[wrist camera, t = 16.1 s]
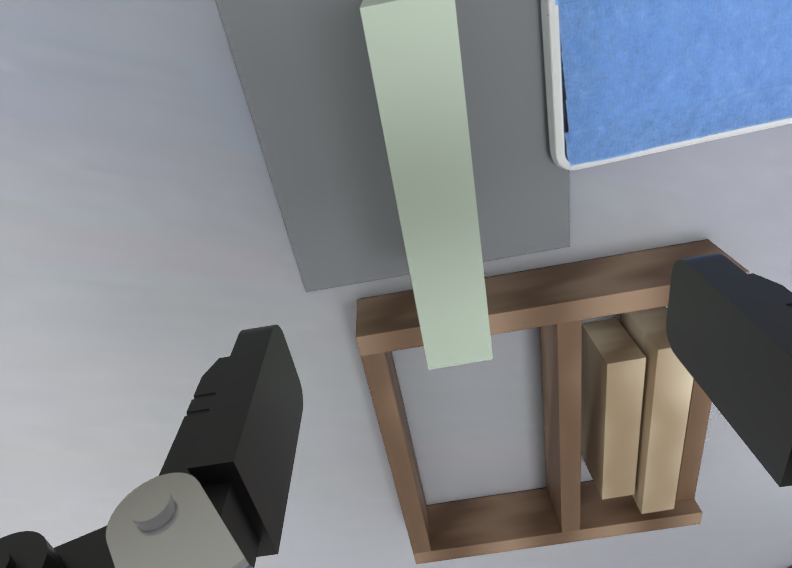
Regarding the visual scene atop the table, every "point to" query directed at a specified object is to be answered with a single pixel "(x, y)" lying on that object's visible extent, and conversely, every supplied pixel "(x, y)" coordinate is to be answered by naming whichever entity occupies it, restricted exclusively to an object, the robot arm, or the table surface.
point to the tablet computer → (662, 74)
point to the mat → (364, 139)
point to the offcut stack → (633, 408)
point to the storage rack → (561, 387)
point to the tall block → (431, 171)
